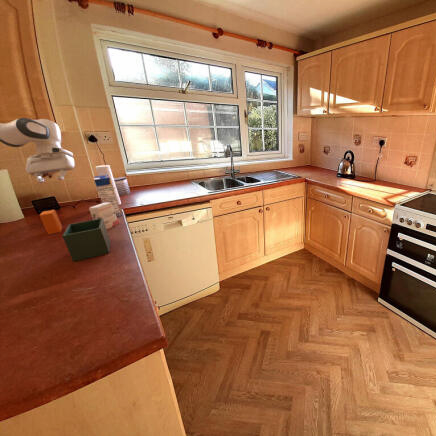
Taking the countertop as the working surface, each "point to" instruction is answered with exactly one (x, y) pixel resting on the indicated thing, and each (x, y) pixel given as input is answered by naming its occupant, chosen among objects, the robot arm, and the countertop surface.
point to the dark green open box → (87, 239)
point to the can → (122, 186)
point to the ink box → (104, 214)
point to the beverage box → (107, 192)
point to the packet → (51, 221)
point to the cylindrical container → (107, 171)
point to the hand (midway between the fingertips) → (50, 180)
